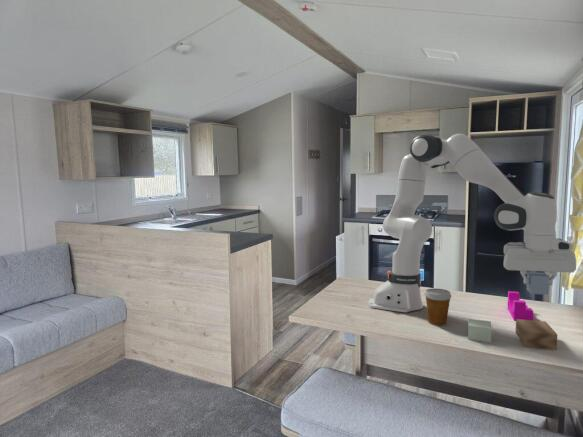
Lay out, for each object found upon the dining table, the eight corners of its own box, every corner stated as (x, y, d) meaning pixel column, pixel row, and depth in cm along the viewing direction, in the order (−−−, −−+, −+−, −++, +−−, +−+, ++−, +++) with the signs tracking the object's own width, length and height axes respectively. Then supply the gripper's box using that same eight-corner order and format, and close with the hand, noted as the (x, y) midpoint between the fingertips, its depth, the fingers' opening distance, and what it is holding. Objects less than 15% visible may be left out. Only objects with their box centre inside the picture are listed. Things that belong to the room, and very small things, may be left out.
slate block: (530, 293, 130) (531, 275, 129) (526, 289, 134) (527, 271, 134) (548, 294, 128) (549, 276, 128) (543, 290, 133) (544, 272, 132)
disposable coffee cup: (453, 327, 145) (454, 295, 144) (426, 326, 147) (426, 294, 146) (448, 318, 155) (448, 288, 154) (422, 317, 156) (422, 287, 155)
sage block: (467, 339, 135) (468, 325, 134) (468, 332, 141) (468, 318, 141) (491, 343, 132) (491, 328, 131) (490, 335, 138) (490, 321, 138)
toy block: (532, 322, 149) (533, 303, 149) (514, 321, 152) (514, 301, 151) (524, 310, 163) (525, 292, 163) (507, 308, 166) (508, 291, 165)
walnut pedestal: (524, 346, 128) (524, 331, 128) (515, 333, 139) (516, 319, 139) (556, 349, 125) (557, 334, 125) (545, 335, 137) (545, 321, 136)
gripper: (505, 243, 129) (504, 285, 131) (579, 244, 124) (577, 288, 125) (501, 240, 135) (500, 280, 137) (571, 241, 130) (569, 283, 131)
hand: (537, 284), depth 131 cm, fingers closed on slate block, 5 cm apart
